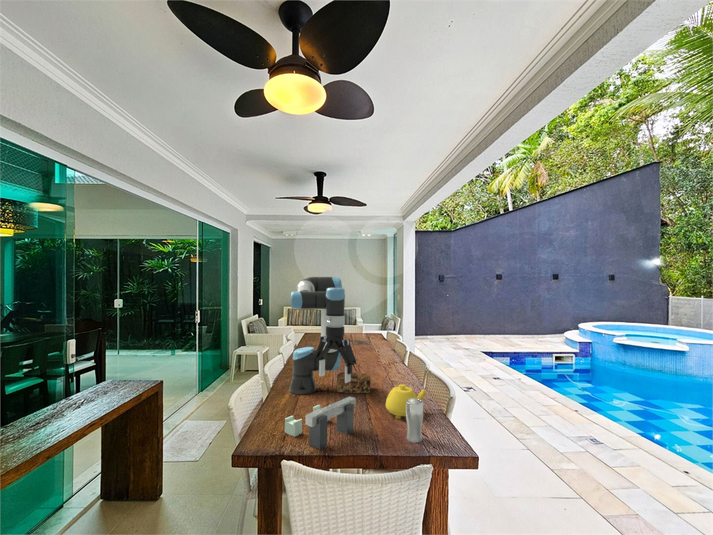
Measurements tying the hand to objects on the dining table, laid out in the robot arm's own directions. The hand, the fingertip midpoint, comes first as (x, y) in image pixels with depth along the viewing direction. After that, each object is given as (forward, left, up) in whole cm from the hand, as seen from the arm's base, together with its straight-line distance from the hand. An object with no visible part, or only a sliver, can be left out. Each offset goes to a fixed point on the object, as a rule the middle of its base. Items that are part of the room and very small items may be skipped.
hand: (334, 379), depth 141 cm
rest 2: (-15, +8, -23) cm, 29 cm away
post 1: (0, -9, -23) cm, 25 cm away
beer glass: (+26, +19, -23) cm, 40 cm away
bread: (-29, +49, -24) cm, 62 cm away
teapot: (+11, +39, -23) cm, 47 cm away
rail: (0, -1, -14) cm, 14 cm away
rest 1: (-15, -8, -23) cm, 29 cm away
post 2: (0, +7, -23) cm, 24 cm away
